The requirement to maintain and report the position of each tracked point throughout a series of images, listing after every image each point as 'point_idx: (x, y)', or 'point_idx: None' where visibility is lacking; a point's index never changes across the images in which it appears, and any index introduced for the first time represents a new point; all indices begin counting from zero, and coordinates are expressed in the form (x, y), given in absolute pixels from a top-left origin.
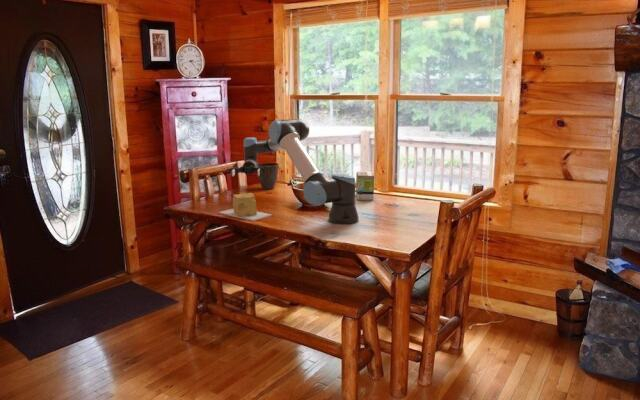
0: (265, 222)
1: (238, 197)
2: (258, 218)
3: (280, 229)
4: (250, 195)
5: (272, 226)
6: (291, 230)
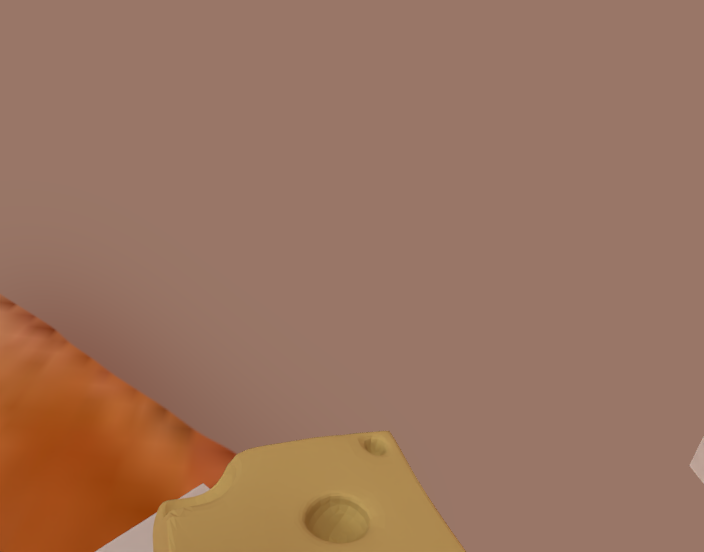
0: (111, 457)
1: (382, 457)
2: (155, 514)
3: (59, 340)
4: (226, 531)
5: (88, 383)
6: (2, 321)
